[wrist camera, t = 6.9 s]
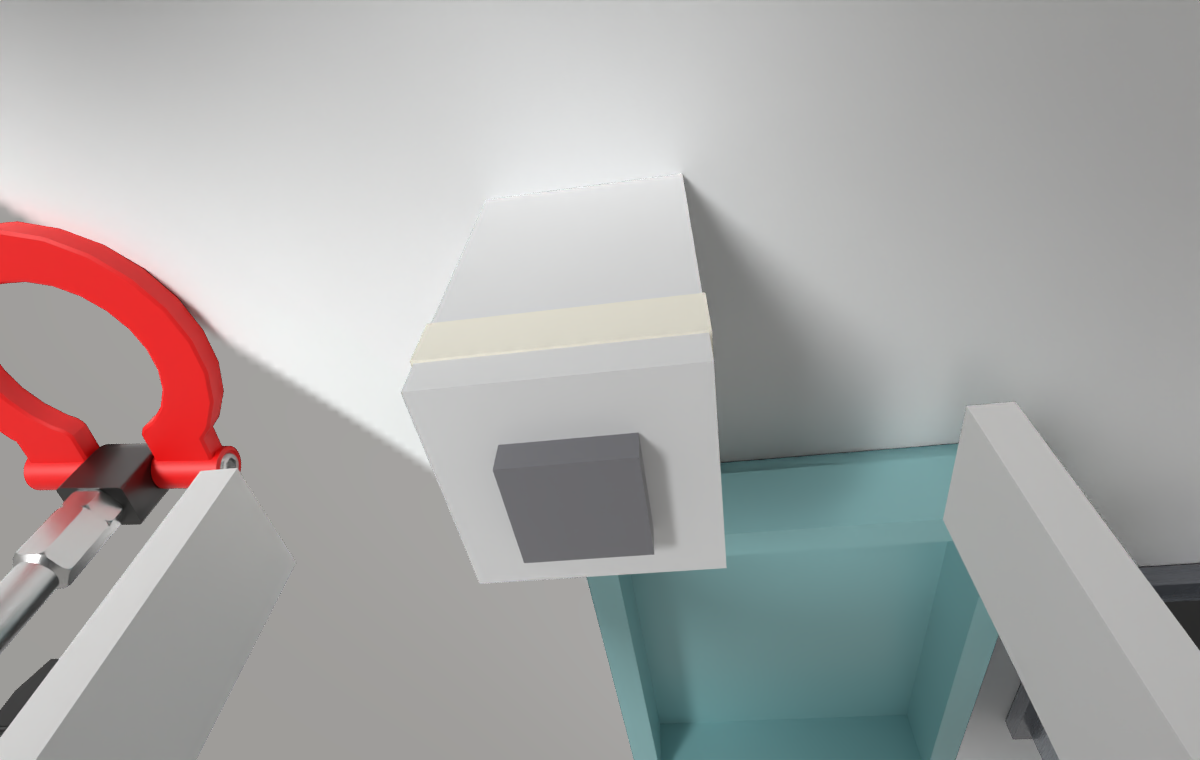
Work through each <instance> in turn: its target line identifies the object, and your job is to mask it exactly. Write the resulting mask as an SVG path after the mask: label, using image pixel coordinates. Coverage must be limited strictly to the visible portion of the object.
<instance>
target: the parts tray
mask: <svg viewBox="0 0 1200 760" xmlns="http://www.w3.org/2000/svg"><path fill="white" fill-rule="evenodd" d="M958 444H959V443H958ZM958 444H946V445H934V446H922V447H909V448H897V449H885V450H873V451H861V452H848V453H836V454H824V455H812V456H800V457H787V458H775V459H763V460H751V461H738V462H726V463H720V468H721V485H722V501H723V517H724V534H725V551H726V567H727V568H719V569H704V570H688V571H672V572H656V573H641V574H625V575H609V576H594V577H587V580H588V584H589V588H590V592H591V596H592V600H593V603H594V607H595V611H596V615H597V619H598V622H599V627H600V630H601V634H602V638H603V642H604V646H605V650H606V653H607V658H608V661H609V665H610V669H611V673H612V677H613V681H614V685H615V689H616V692H617V696H618V700H619V704H620V708H621V711H622V715H623V720H624V723H625V727H626V731H627V735H628V739H629V742H630V747H631V750H632V754H633V758H634V760H956V757H957V754H958V751H959V748H960V745H961V742H962V739H963V737H964V734H965V731H966V728H967V725H968V722H969V719H970V716H971V713H972V711H973V708H974V705H975V702H976V699H977V696H978V693H979V690H980V687H981V685H982V682H983V679H984V676H985V673H986V670H987V667H988V664H989V661H990V659H991V656H992V653H993V650H994V647H995V644H996V641H997V638H998V635H999V634H998V632H997V630H996V628H995V626H994V624H993V622H992V620H991V618H990V616H989V614H988V612H987V610H986V608H985V605H984V603H983V601H982V599H981V597H980V595H979V593H978V591H977V589H976V587H975V585H974V583H973V581H972V579H971V577H970V575H969V573H968V570H967V568H966V566H965V564H964V562H963V560H962V558H961V556H960V554H959V552H958V550H957V548H956V546H955V544H954V542H953V540H952V538H951V535H950V533H949V531H948V529H947V527H946V525H945V523H944V521H943V517H944V512H945V507H946V502H947V497H948V492H949V487H950V483H951V478H952V473H953V468H954V463H955V458H956V454H957V449H958Z"/></svg>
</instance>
